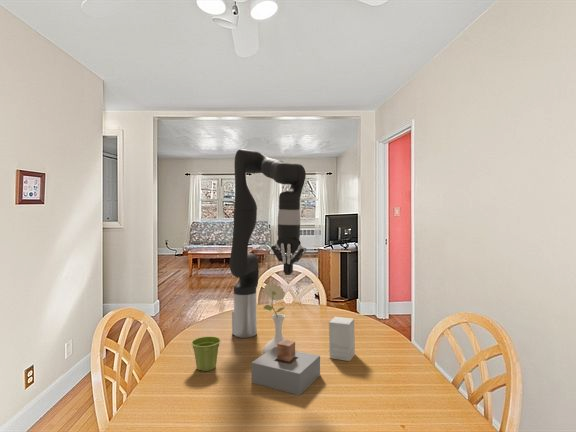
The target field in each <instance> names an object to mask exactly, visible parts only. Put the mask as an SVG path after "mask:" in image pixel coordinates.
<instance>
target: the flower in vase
mask: <svg viewBox="0 0 576 432" xmlns="http://www.w3.org/2000/svg"><path fill="white" fill-rule="evenodd" d="M263 293H264V294H265V295H266V297H267V298H269V299H271V305H270V304H265V305H264V306H263V309H264V310H267V311H270V312H271V311H272V310H273V312H274V314H272V315H271V318H272V320H273V322H274V328H275V330H274V333H275V334H274V336H273V338H272V339H270V341H268V342H267V343H266V344H265V345H264V346H263V348H262V353H263V355H264V354H265V353H267V352H268V351H270V350H271V349H273V348H274V347H277V344H278V343H279V342H281V341H282V340H286V339H285V338H284V336H283V332H282V330H283V322H284V320H285V318H286V314H283V313H279V312H281V311H283V310H284V309H285V306H283V307H280V308H278V309H277V310H275V308H274V307H273V303H274V302H273V301H278V302H279V301H281V300H285V296H286V292H285V291H284V288H283V287H282V286H280V285H279V286H278V284H277V283H275V284H274V283H273V282H272V283H271V282H270V283H268V284H265V285H264V286H263Z"/></svg>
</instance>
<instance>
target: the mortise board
mask: <svg viewBox="0 0 576 432" xmlns="http://www.w3.org/2000/svg"><path fill="white" fill-rule="evenodd" d="M295 357H296V358H295V361H294V362H293V363H291V364H286V363H282V362H277V347H274V348H273V349H271V350H270V351H268V352H267V353H265V354H264V353H263V354H262V355H260V356H259V357H258V358H255V360H253V361H252V362H250V363H251V364H250V365H251V370H250V372H251V384H255V385H259V386H263V387H266V388H271V389H274V390H277V391H278V390H279V391H282V392H286V393H290V394H293V395H297V396H301V395H302V394H303V393H304V392H305V391H306V390H307V389H308V388H309V387H310V386H311V385H312V384H313V383H314V382H315V381H316V380H317V379H318V378H319V377H320V375H321V355H318V354H314V353H310V352H309V353H308V352H303V351H298V350H295Z"/></svg>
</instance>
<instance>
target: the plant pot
mask: <svg viewBox="0 0 576 432" xmlns="http://www.w3.org/2000/svg"><path fill="white" fill-rule="evenodd" d="M221 342H222V340H221V338H220V337H217V336H209V335H208V336H202V337H201V336H200V337H197V338H194V339H192V341H191V342H190V344H191V346H192V349H193V352H194V357H195V358H194V359H195V365H196V370H198V371H202V372H209V371H212V370H214V369H216V367H217V361H218V354H219V353H218V352H219V347H220V343H221Z"/></svg>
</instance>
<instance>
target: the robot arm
mask: <svg viewBox="0 0 576 432" xmlns="http://www.w3.org/2000/svg"><path fill="white" fill-rule="evenodd" d="M246 174H254V175H255V174H263V175H264V176H265V177H267V178H269V179H272V180H273V181H274V182H275V183H277V184H280V185H290V188H289V190H286V191H282V192H280V193H279V195H278V213H277V241H276V244H274V245H272V246H271V247H270V248H271V251H272V252H273V254H274V255H275V257H276V259H277V261H278V262H282V264H283V273H284V275H285V276H291V275H292V274H293V271H294V264H295V263H298V262H299V261H300V259H301V258H302V257H303V255H305V253H306V252H307V248H306V247H303V245H301V241H300V236H301V210H300V209H301V196H302V191H303V188H304V186H305V182H306V181H305V180H306V177H307V176H306V175H307V174H306V170H305V167H304V166H303V165H302V164H299V163H290V162H285V161H282V160H279V159H276V158H271V157H268V156H266V155H265V154H263V153H262V152H260V151H257V150H251V149H250V150H249V149H244V148H240V149H238V150H237V151H236V153H235V156H234V205H233V229H232V243H231V249H230V250H231V252H230V258H229V270H230V273H231V274H232V275H233V276H234V277H235V278H237V279H238V281H237V282H236V284H234V287H233V310H232V312H231V331H232V332H231V335H234V337H236V338H239V339H240V338H241V339H243V338H244V339H245V338H247V339H248V338H253V337H255V336H256V335H257V331H258V330H257V329H258V328H257V323H258V322H257V310H258V309H257V287H258V285H259V273H260V272H259V270H260V269H259V268H260V267H259V260H258V258H257V256H256V255H255V254H254V253H252V252H249V243H250V239H251V237H252V234H253V232H254V229H255V228H256V223H257V216H258V206H257V203H256V201H255V199H254V197H253V194H252V192H251V191H250V189H249V187H248V183H247V177H246V176H247V175H246Z"/></svg>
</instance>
